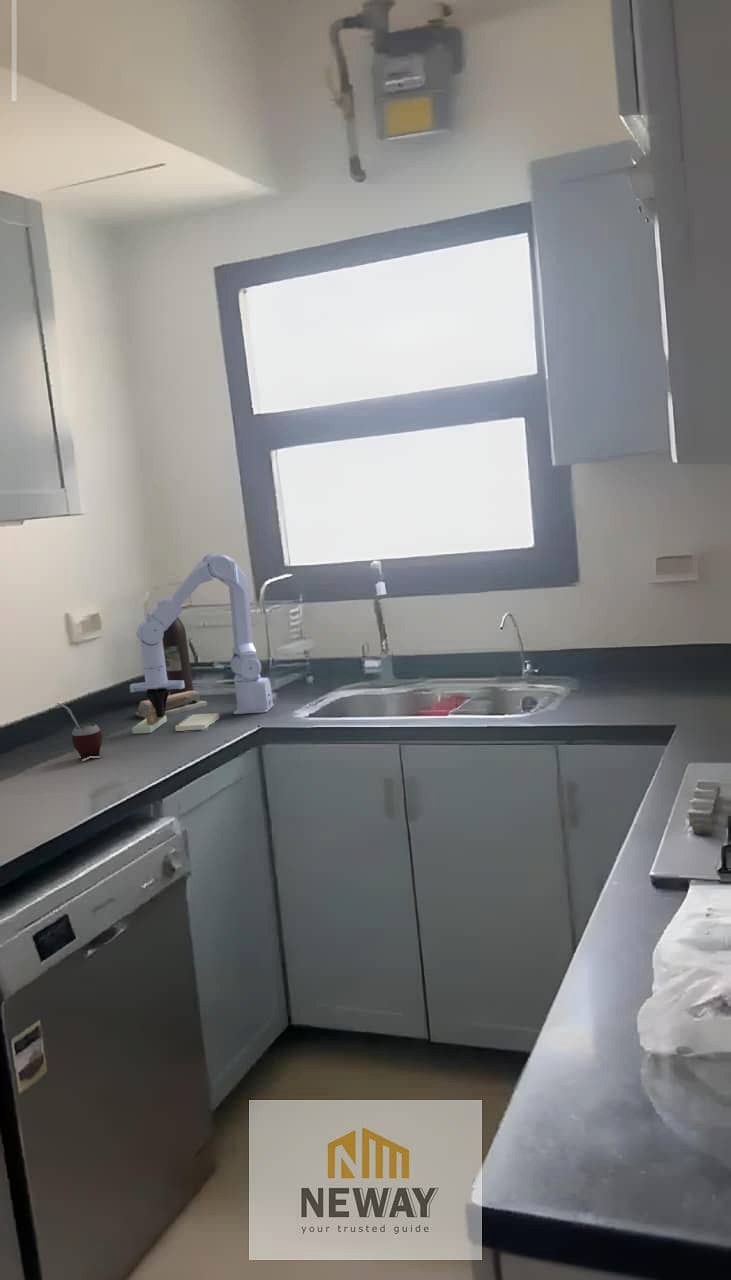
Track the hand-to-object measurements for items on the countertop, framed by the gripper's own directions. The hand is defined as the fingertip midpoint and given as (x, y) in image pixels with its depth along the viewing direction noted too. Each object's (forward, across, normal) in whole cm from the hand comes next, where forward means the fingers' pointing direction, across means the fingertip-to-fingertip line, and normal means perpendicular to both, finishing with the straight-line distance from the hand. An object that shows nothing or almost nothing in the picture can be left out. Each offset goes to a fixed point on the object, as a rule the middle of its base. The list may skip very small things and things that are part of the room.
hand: (161, 716), depth 283 cm
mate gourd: (+3, -9, -27) cm, 29 cm away
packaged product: (+4, -4, +19) cm, 20 cm away
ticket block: (+3, +10, 0) cm, 10 cm away
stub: (+3, -4, 0) cm, 5 cm away
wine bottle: (+3, -7, +36) cm, 37 cm away
